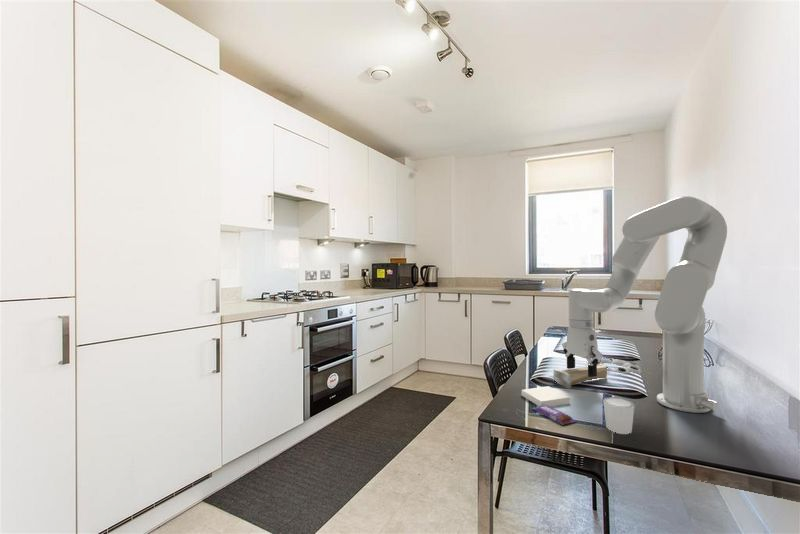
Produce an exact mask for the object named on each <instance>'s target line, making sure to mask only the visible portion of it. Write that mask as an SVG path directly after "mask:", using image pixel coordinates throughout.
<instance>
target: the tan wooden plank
mask: <svg viewBox="0 0 800 534" xmlns="http://www.w3.org/2000/svg"><path fill="white" fill-rule="evenodd" d="M606 366H607V365H604V364H602V365H597V376H595V377H589V376H588V367H587V366H584V367H583V366H582V367H575V368H572V369H568V368H567V369H563V370H560V369H557V368H553V381H554V380H555V381H556V382H557V383H556V382H555V383H556V384H559V385H560V386H562V387H564V388H567V389H571V388H572V386H573V385H577V384H576V383H579V382H584V381H586V380H592V379H597V378H606V377H608V373H607V367H608V366H607V367H606Z"/></svg>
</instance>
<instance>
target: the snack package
mask: <svg viewBox="0 0 800 534" xmlns="http://www.w3.org/2000/svg"><path fill="white" fill-rule="evenodd" d="M531 409H532V410H533V411H535V412H536V411H537V412H536V413H538V412H539V413H538V414H540V413H541V414H540V415H542V414H543V416H544V415H545V416H544V417H546V416H547V417H546V418H548V417H549V418H548V419H550V418H551V419H553V420H555V421H557V422H558V423H557V422H556V423H557V424H559V423H560V424H559V425H563V426H564V425H569V424H572V423H576V422H577V420H575V419H574V418H572V417H571V416H570V415H569V414H567V413H565V412H562V411H560V410H558V409H556V408H554V407H553V406H542V407H539V406H537V407H533V408H532V407H531ZM551 419H550V420H551ZM553 420H552V421H553ZM555 421H554V422H555Z"/></svg>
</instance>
